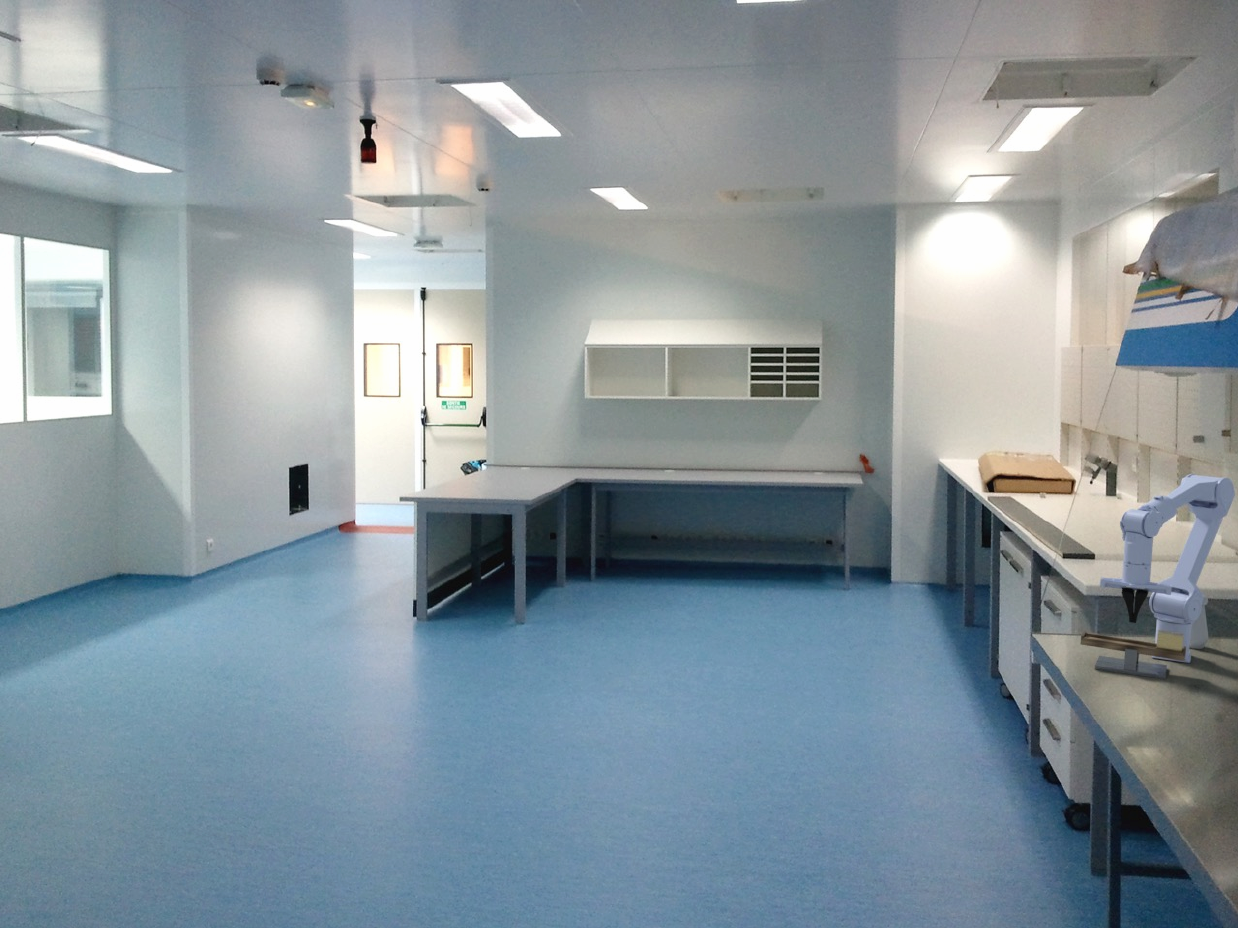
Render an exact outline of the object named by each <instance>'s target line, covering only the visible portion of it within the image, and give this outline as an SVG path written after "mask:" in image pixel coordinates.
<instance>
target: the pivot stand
mask: <svg viewBox="0 0 1238 928" xmlns="http://www.w3.org/2000/svg"><path fill="white" fill-rule="evenodd" d="M1096 660H1097V661H1096V662H1095V665H1094V670H1098V671H1099V670H1100V671H1107V672H1112V673H1113V672H1114V673H1121V674H1127V675H1134V676H1141V677H1146V678H1147V677H1148V678H1154V679H1160V680H1165V679H1166V674H1167V669H1168V665H1167V664H1160V663H1153V662H1147V661H1140V654H1137V650H1136V649H1129V648H1125V651H1124V658H1120V657H1119V658H1118V657H1113V656H1112V657H1111V656H1104V655H1099V656H1098V658H1097V659H1096Z"/></svg>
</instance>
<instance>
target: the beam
mask: <svg viewBox="0 0 1238 928" xmlns="http://www.w3.org/2000/svg"><path fill="white" fill-rule="evenodd" d="M1079 644H1080V645H1081V646H1089V647H1095V648H1101V649H1105V650H1106V649H1107V650H1113V651H1119V652H1125V648H1129V649H1136V650H1137V654H1139V655H1145V656H1151V657H1152V656H1156V657H1162V658H1168V659H1174V660H1181V661H1185V654H1186V646H1184V648H1183V647H1182V653H1181V652H1175V651H1169V650H1162V649H1156V646H1157V643H1155V642H1151V641H1144V640H1136V639H1129V638H1125V637H1124V638H1123V637H1117V636H1110V635H1104V634H1099V633H1092V632H1087V630H1083V632H1082V634H1081V635H1080V643H1079Z"/></svg>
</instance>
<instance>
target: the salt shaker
mask: <svg viewBox="0 0 1238 928" xmlns="http://www.w3.org/2000/svg"><path fill="white" fill-rule="evenodd" d="M1203 595H1204V598H1203V601H1202V610H1201V614H1200V616H1199V617H1198V618H1197V620H1195V622H1194V623H1191V634H1190V647H1189V649H1194V650H1195V649H1197V650H1201V649H1204V648H1205V646H1206V644H1207V643H1208V642H1209V638H1210V637H1209V629H1208V624H1207V623H1208V622H1207V615H1206V606H1207V605H1208V602H1209V599H1208V596H1206V595H1205V594H1203Z"/></svg>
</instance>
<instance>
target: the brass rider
mask: <svg viewBox="0 0 1238 928" xmlns="http://www.w3.org/2000/svg"><path fill="white" fill-rule="evenodd" d="M1183 637H1184V633H1177V632H1170V631H1164V630H1158V637H1157V646H1156V649H1162V650H1169V651H1175V652H1181V653H1182V646H1183Z"/></svg>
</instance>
